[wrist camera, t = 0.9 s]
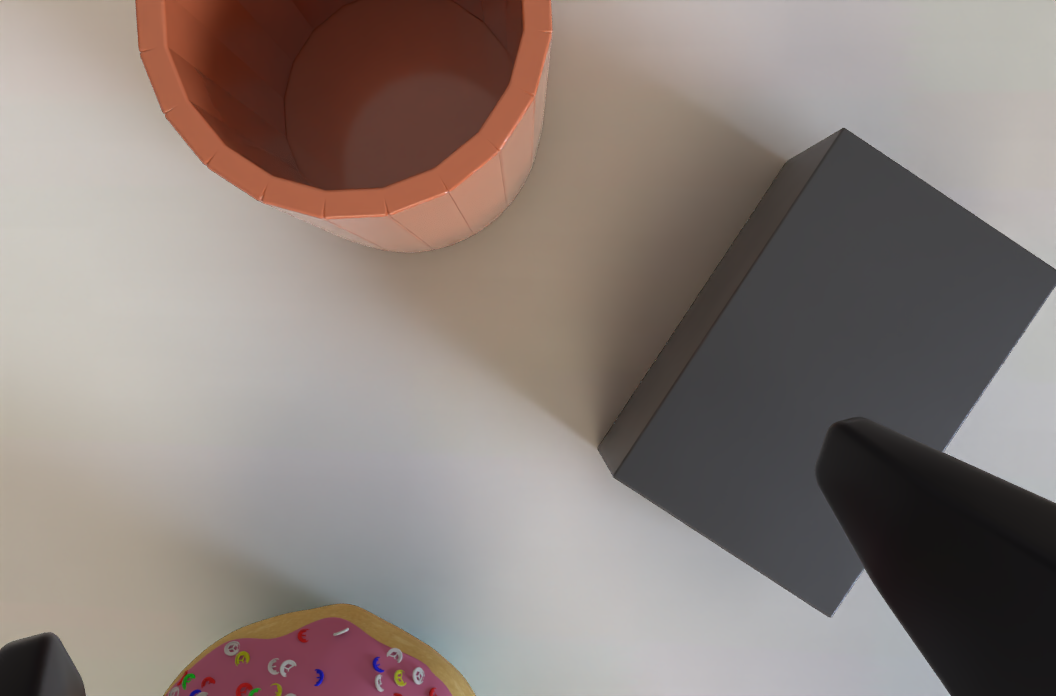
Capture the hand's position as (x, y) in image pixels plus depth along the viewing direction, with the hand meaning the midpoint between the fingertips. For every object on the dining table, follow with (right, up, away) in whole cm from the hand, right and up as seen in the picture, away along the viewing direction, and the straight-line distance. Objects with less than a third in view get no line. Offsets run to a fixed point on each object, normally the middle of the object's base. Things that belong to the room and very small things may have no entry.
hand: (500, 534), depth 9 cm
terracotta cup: (-3, +9, +14) cm, 16 cm away
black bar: (+8, +2, +14) cm, 16 cm away
